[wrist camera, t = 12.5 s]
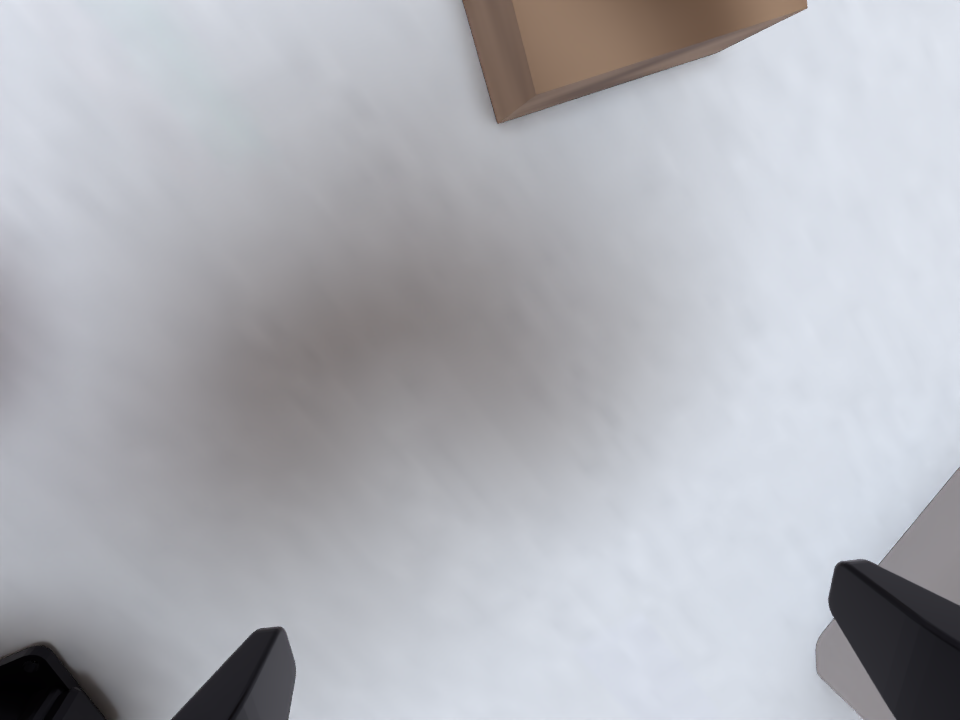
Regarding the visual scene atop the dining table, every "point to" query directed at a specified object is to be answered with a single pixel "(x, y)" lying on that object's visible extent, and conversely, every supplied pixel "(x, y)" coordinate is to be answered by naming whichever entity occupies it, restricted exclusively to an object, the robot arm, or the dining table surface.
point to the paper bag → (918, 558)
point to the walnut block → (600, 42)
